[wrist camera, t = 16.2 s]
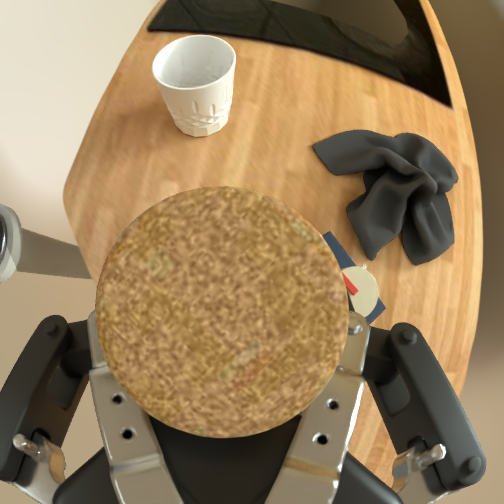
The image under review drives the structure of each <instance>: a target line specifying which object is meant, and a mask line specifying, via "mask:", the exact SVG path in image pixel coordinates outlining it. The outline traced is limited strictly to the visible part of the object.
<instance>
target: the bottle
mask: <svg viewBox="0 0 504 504" xmlns="http://www.w3.org/2000/svg"><path fill="white" fill-rule="evenodd" d="M348 321H349V306H348V295H347V289H346V285H345V282H344V278H343V274H342V272H341V269H340V267H339V264H338V262H337V260H336V258H335V256H334V254H333V252H332V251H331V249H330V247H329V246H328V244H327V243H326V241H325V240H324V238H323V237H322V235H321V234H320V233H319V232H318V231H317V230H316V229H315V228H314V226H312V225H311V224H310V223H309V222H308V221H307V220H306V219H305V218H304V217H302V216H301V215H300V214H299V213H297V212H296V211H294V210H293V209H292V208H290V207H289V206H288V205H286V204H284V203H282V202H280V201H278V200H276V199H274V198H272V197H270V196H267V195H265V194H262V193H259V192H255V191H251V190H248V189H243V188H235V187H227V186H224V187H204V188H199V189H194V190H190V191H185V192H181V193H178V194H176V195H173V196H171V197H169V198H166V199H164V200H163V201H161V202H159V203H157V204H155V205H154V206H152V207H151V208H149V209H148V210H146V211H145V212H143V213H142V214H141V215H140V216H139V217H137V218H136V219H135V220H134V221H133V222H132V223H131V224H130V225H129V226H128V227H127V228H126V229H125V230H124V231H123V233H122V234H121V236H120V237H119V239H118V240H117V242H116V243H115V245H114V246H113V248H112V249H111V251H110V252H109V254H108V256H107V259H106V261H105V263H104V265H103V268H102V272H101V275H100V279H99V282H98V286H97V293H96V304H95V322H96V329H97V336H98V340H99V344H100V347H101V350H102V353H103V355H104V358H105V360H106V362H107V365H108V367H109V369H110V371H111V373H112V374H113V376H114V378H115V379H116V381H117V382H118V384H119V385H120V387H121V388H122V389H123V390H124V391H125V392H126V393H127V394H128V396H129V397H130V398H131V399H132V400H133V401H134V402H135V403H136V404H137V405H138V406H139V407H140V408H142V409H143V410H144V411H145V412H147V413H148V414H149V415H151V416H153V417H154V418H156V419H158V420H159V421H161V422H163V423H164V424H166V425H168V426H170V427H173V428H176V429H179V430H182V431H185V432H188V433H191V434H195V435H198V436H203V437H212V438H234V437H244V436H250V435H253V434H257V433H261V432H264V431H267V430H270V429H272V428H274V427H276V426H279V425H281V424H283V423H285V422H287V421H288V420H290V419H291V418H293V417H294V416H296V415H297V414H299V413H300V412H301V411H303V410H304V409H305V408H307V407H308V406H309V405H310V404H311V403H312V401H313V400H314V399H315V398H316V397H317V396H318V395H319V394H320V393H321V392H322V391H323V389H324V388H325V386H326V385H327V384H328V382H329V381H330V379H331V377H332V375H333V374H334V372H335V370H336V368H337V366H338V364H339V362H340V360H341V357H342V353H343V350H344V346H345V343H346V338H347V332H348Z"/></svg>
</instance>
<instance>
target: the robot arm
mask: <svg viewBox="0 0 504 504" xmlns="http://www.w3.org/2000/svg"><path fill="white" fill-rule="evenodd" d="M7 238H8V235H7V226H6V222H5V220H4V218H3V216H2V215H1V214H0V265H1V263H2V261H3V258H4V256H5V252H6V247H7ZM346 289H347V287H346ZM347 295H348V306H349V321H348V332H347V338H346V343H345V346H344V350H343V353H342V357H341V360H340V362H339V364H338V366H337V368H336V370H335V372H334V374H333V375H332V377H331V379H330V381H329V382H328V384H327V385H326V386H325V388H324V389H323V391H322V392H321V393H320V394H319V395H318V396H317V397H316V398H315V399H314V400H313V401H312V403H311V404H310V405H309V406H308V407H307V408H305V409H304V410H303V411H301V412H300V413H299V414H297V415H296V416H294V417H293V418H291V419H290V420H288V421H287V422H285V423H283V424H281V425H279V426H276V427H274V428H272V429H270V430H267V431H264V432H261V433H257V434H253V435H250V436H244V437H234V438H212V437H203V436H198V435H195V434H191V433H188V432H185V431H182V430H179V429H176V428H173V427H170V426H168V425H166V424H164V423H163V422H161V421H159V420H158V419H156V418H154V417H153V416H151V415H149V414H148V413H147V412H145V411H144V410H143V409H142V408H140V407H139V406H138V405H137V404H136V403H135V402H134V401H133V400H132V399H131V398H130V397H129V396H128V394H127V393H126V392H125V391H124V390H123V389H122V388H121V387H120V385H119V384H118V382H117V381H116V379H115V378H114V376H113V374H112V373H111V371H110V369H109V367H108V365H107V362H106V360H105V358H104V355H103V353H102V350H101V347H100V344H99V340H98V336H97V329H96V322H95V310H94V311H93V312H92V313H91V314H90V315H89V317H88V319H87V320H84V321H79V322H73V323H67V321H66V320H65V319H64V317H62V316H60V315H52V316H49V317H47V318H45V319H44V320H42V321H41V323H40V324H39V325H38V327H37V329H36V330H35V332H34V333H33V335H32V336H31V338H30V340H29V341H28V343H27V344H26V346H25V348H24V350H23V352H22V353H21V355H20V357H19V358H18V360H17V362H16V363H15V365H14V367H13V369H12V371H11V372H10V374H9V376H8V378H7V380H6V382H5V384H4V386H3V388H2V390H1V392H0V480H1V481H4V482H6V483H8V484H11V485H13V486H15V487H17V488H18V489H20V490H21V491H22V492H24V493H25V494H27V495H28V496H29V497H31V498H32V499H34V500H36V501H37V502H38V503H40V504H433V503H435V502H436V501H438V500H440V499H441V498H443V497H444V496H446V495H449V494H452V493H454V492H457V491H460V490H461V489H462V488H465V487H468V486H470V485H473V484H475V483H477V482H478V481H479V480H480V479H481V478H482V476H483V475H484V472H485V469H486V457H485V455H484V452H483V450H482V448H481V445H480V443H479V441H478V439H477V436H476V434H475V432H474V430H473V428H472V426H471V423H470V421H469V419H468V417H467V415H466V413H465V411H464V409H463V407H462V405H461V403H460V401H459V399H458V397H457V395H456V394H455V392H454V390H453V388H452V386H451V384H450V382H449V380H448V379H447V377H446V375H445V373H444V371H443V370H442V368H441V366H440V364H439V363H438V361H437V359H436V357H435V356H434V354H433V352H432V351H431V349H430V347H429V346H428V344H427V342H426V341H425V339H424V337H423V336H422V334H421V332H420V331H419V330H418V329H417V328H416V327H415V326H413V325H411V324H409V323H404V322H401V323H397V324H395V325H394V326H393V327H392V329H391V330H390V331H389V330H384V329H379V328H375V327H372V326H370V325H369V322H368V321H367V319H366V318H365V317H364V316H362V315H361V314H359V313H356V312H355V310H354V307H353V304H352V301H351V299H350V296H349V293H348V290H347ZM89 380H90V386H91V391H92V396H93V401H94V406H95V411H96V415H97V420H98V424H99V428H100V432H101V436H102V440H103V443H104V447H103V448H101V449H100V450H99V451H98V452H97V453H96V454H95V455H94V456H92V458H90V459H89V460H88V461H87V462H86V463H84V464H83V465H82V466H81V467H80V468H79V469H78V470H76V471H75V472H74V473H73V474H72V475H71V476H69V477H68V478H67V479H65V476H64V470H65V468H66V463H65V457H64V454H63V452H62V450H61V446H62V444H63V441H64V438H65V436H66V433H67V431H68V428H69V426H70V423H71V421H72V418H73V416H74V413H75V411H76V409H77V406H78V404H79V402H80V399H81V397H82V395H83V392H84V390H85V388H86V386H87V384H88V381H89ZM365 380H366V381H367V383H368V386H369V388H370V390H371V393H372V395H373V397H374V400H375V402H376V404H377V407H378V409H379V411H380V414H381V416H382V418H383V421H384V423H385V426H386V428H387V430H388V433H389V435H390V438H391V440H392V443H393V445H394V448H395V450H396V453H397V455H398V456H397V457H396V459H395V460H394V463H393V471H392V475H393V477H394V482H393V485H392V488H390V487H389V486H387V485H386V484H385V483H384V482H382V481H381V480H380V479H379V478H378V477H377V476H375V475H374V474H373V473H372V472H371V471H369V470H368V469H367V468H366V467H365V466H364V465H363V464H361V463H360V462H359V461H358V460H357V459H356V458H355V457H354V456H352V455H351V454H350V453H349V452H348V451H347V449H348V446H349V443H350V439H351V436H352V432H353V429H354V425H355V421H356V418H357V414H358V410H359V406H360V402H361V397H362V393H363V389H364V384H365Z"/></svg>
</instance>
